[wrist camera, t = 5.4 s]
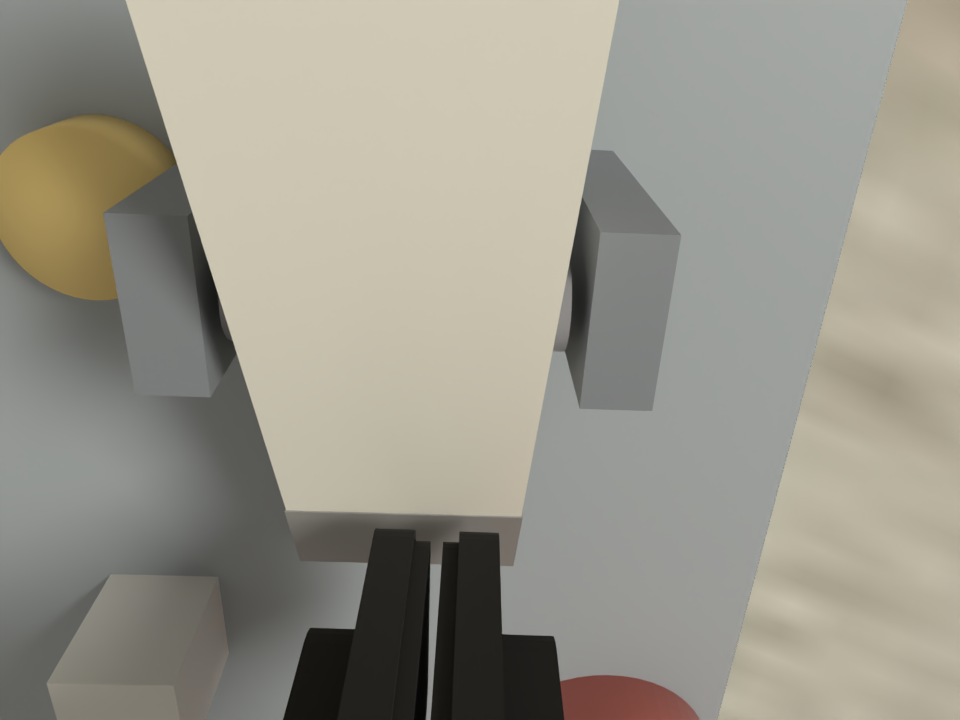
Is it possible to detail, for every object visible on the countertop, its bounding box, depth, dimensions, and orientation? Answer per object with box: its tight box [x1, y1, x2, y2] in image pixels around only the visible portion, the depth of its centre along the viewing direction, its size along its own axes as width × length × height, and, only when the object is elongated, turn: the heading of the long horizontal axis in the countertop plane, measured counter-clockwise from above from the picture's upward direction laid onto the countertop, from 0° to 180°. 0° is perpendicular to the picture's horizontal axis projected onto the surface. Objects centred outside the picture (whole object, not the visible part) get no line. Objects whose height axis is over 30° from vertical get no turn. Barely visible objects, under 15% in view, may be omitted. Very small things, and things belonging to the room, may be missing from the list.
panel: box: [0, 0, 907, 720], centre depth 13 cm, size 19×22×6 cm
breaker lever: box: [126, 0, 619, 566], centre depth 8 cm, size 4×10×2 cm, turn 177°
